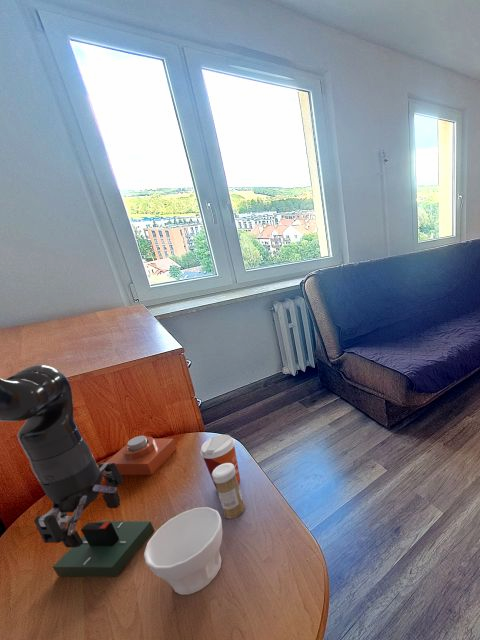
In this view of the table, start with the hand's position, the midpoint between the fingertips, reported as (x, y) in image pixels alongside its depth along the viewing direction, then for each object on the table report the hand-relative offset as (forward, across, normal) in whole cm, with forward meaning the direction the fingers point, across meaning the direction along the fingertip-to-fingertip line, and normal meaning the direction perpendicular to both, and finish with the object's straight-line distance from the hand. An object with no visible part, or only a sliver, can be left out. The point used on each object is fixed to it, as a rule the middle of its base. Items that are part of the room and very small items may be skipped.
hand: (96, 525), depth 69 cm
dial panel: (+8, 0, 0) cm, 8 cm away
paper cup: (+9, -18, +16) cm, 25 cm away
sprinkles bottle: (+9, -10, +22) cm, 26 cm away
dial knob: (+5, 0, 0) cm, 5 cm away
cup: (+9, +4, +22) cm, 24 cm away
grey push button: (+3, -26, -13) cm, 29 cm away
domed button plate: (+8, -26, -13) cm, 30 cm away
